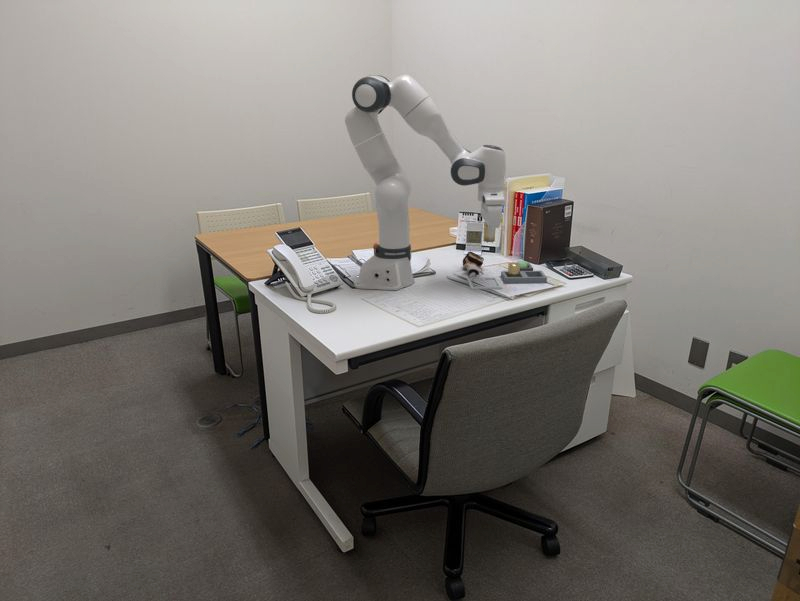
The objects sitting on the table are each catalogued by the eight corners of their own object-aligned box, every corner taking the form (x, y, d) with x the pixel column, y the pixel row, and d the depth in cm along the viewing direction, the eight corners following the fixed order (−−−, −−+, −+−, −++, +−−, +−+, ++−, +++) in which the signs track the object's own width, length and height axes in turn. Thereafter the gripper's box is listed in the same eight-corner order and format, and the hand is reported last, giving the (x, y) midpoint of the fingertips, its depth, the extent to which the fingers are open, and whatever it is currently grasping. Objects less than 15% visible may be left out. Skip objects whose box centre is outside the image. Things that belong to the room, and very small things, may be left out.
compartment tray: (503, 287, 197) (504, 278, 195) (499, 278, 205) (499, 270, 204) (548, 286, 197) (548, 277, 195) (541, 278, 205) (542, 270, 204)
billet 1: (484, 242, 189) (484, 225, 187) (482, 239, 193) (483, 222, 191) (495, 242, 189) (496, 225, 187) (493, 239, 193) (494, 222, 191)
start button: (517, 274, 206) (517, 263, 204) (515, 270, 210) (515, 260, 208) (527, 273, 206) (528, 263, 204) (525, 270, 210) (526, 260, 208)
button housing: (513, 278, 205) (514, 268, 203) (510, 272, 211) (510, 262, 210) (532, 278, 205) (533, 268, 203) (528, 272, 211) (529, 262, 210)
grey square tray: (470, 292, 192) (470, 287, 191) (466, 282, 202) (467, 277, 201) (502, 292, 192) (502, 287, 191) (496, 281, 202) (496, 277, 201)
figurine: (468, 267, 199) (466, 246, 211) (456, 283, 203) (455, 262, 216) (489, 277, 201) (486, 256, 213) (477, 293, 205) (475, 272, 218)
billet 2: (508, 281, 198) (509, 265, 196) (506, 278, 202) (507, 262, 200) (519, 281, 198) (520, 265, 196) (517, 277, 202) (518, 262, 200)
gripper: (477, 189, 195) (476, 227, 200) (486, 200, 176) (484, 242, 181) (495, 189, 195) (493, 227, 200) (505, 200, 176) (503, 242, 181)
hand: (489, 234), depth 190 cm, fingers closed on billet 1, 4 cm apart
